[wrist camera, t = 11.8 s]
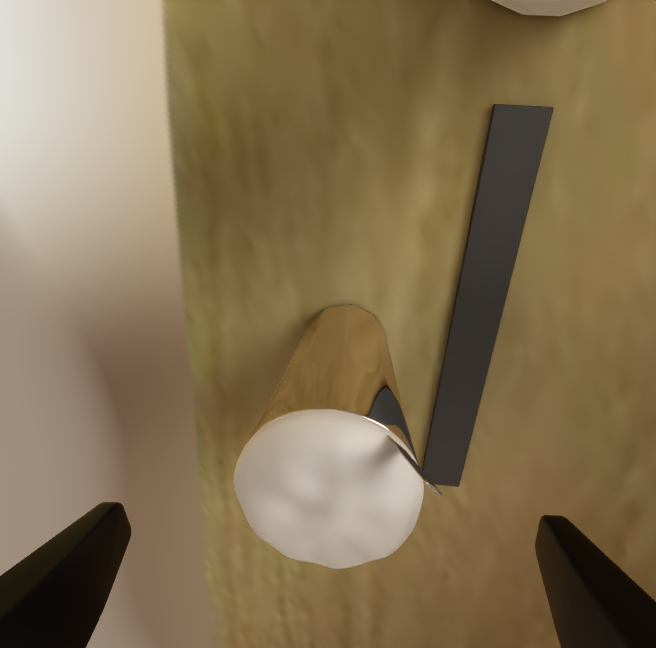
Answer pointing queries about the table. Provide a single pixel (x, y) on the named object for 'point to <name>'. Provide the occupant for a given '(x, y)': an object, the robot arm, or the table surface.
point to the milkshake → (334, 450)
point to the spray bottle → (547, 6)
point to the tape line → (484, 281)
